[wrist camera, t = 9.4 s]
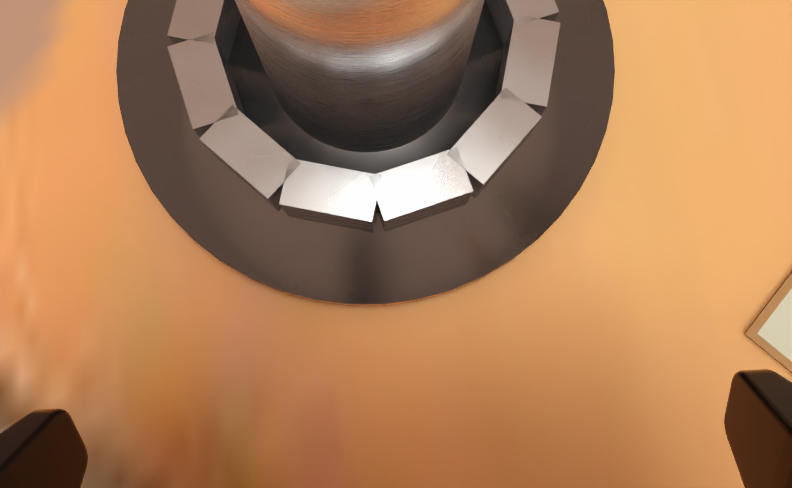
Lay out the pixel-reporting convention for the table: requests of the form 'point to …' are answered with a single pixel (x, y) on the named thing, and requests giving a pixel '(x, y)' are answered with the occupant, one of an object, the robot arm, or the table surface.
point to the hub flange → (366, 171)
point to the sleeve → (363, 64)
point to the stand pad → (776, 326)
